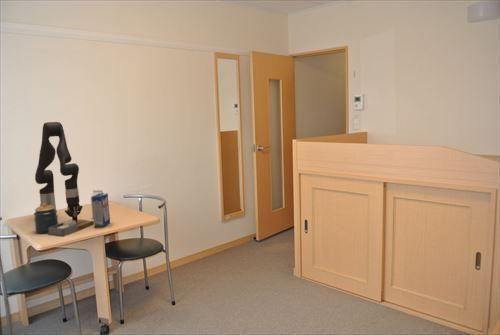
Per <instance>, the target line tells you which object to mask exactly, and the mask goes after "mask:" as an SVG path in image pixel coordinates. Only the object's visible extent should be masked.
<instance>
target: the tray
mask: <svg viewBox="0 0 500 335" xmlns="http://www.w3.org/2000/svg"><path fill="white" fill-rule="evenodd" d="M60 226H63V222H61V223H58V224H57V225H54V226H51V227H48V233H47V234H48V235H49V236H57V237H65V236H68V235H70V234H73V233H76V232H78V230H77V224H74V225H72V226H69V227H66V228H63V229H61V228H57V227H60Z"/></svg>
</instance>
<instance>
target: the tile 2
mask: <svg viewBox="0 0 500 335" xmlns="http://www.w3.org/2000/svg"><path fill="white" fill-rule="evenodd" d="M62 223H63V225H66V226H72V225H74V224H76V221H75V220H72V219H69V220H66V221H63V222H62Z"/></svg>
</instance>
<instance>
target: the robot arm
mask: <svg viewBox="0 0 500 335" xmlns="http://www.w3.org/2000/svg"><path fill="white" fill-rule="evenodd" d="M41 136H42V137H41V145H40V149H39V156H38V164H37V167H36V171H35V175H34V180H35V183H36V184H38V185H43V184H44V185H45V184H46V185H45V186H43V187H41V188H40V189H39V191H38V192H39V199H40V204H39V206H42V204H43V203H46V204H47V205H52V206H54V207H55V210H57V208H56V207H57V205H56V197H55V196H56V195H55V182H54V179H55V178H54V173H53V171H52V170H50V169H47V168H48V167H49V166H50V165H51V164H52V163H53V162H54V161H55V158H56V157H55V156H56V155H57V158H58V160H59V161H58V162H59V173H60V175H61V176H63V177H67V176H70V178H67V179H65V180H64V188H65V190H64V191H65V201H66V202H65V203H66V204H67V207H66V208H67V209H65V210H64V213H65V214H66V215H67V216H68V217H70V218H71V220H75V221H76V222H77V221H78V220H79V218H78V216H79V215H80V214H81V213H82V210H83V205H80V191H79V187H78V177H79V172H80V167H79V165H78V164H77V163H70V162H71V161H72V159H73V158H72V156H71V153H70V150H69V148H68V144H67V139H66V135H65V131H64V126H63V124H62V123H61V122H59V121H49V122H48V121H47V122H45V123H43V126H42V133H41ZM51 137H58V139H59V140H58V144H57V147H56V148H55V146H54V145H53V144H52V142H50V138H51Z"/></svg>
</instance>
